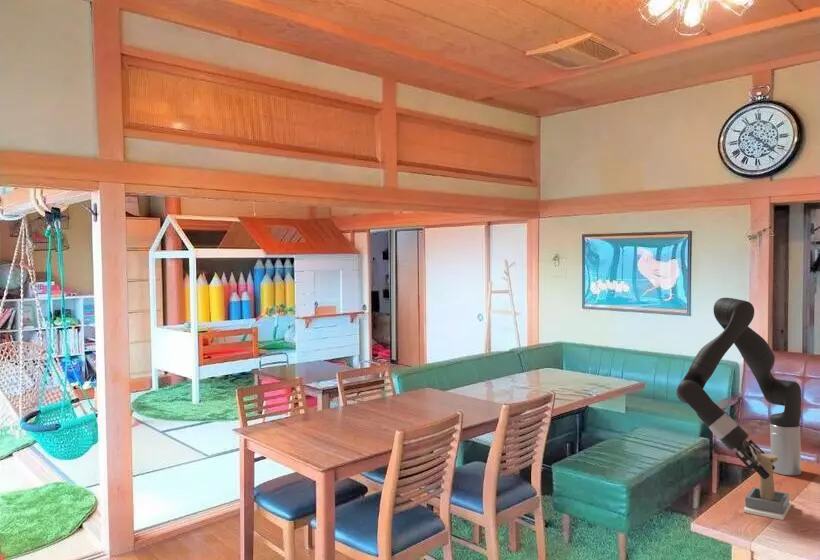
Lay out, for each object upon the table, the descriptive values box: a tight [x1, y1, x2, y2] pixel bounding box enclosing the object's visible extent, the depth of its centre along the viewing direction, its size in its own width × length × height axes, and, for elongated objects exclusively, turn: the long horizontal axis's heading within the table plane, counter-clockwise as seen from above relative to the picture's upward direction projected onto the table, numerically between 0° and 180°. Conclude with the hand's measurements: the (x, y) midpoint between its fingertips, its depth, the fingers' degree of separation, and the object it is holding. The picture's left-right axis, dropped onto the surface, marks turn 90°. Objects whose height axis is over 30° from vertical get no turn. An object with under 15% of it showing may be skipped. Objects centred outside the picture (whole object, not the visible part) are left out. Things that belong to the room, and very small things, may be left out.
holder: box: [743, 486, 792, 521], centre depth 187 cm, size 15×10×4 cm
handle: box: [756, 453, 778, 501], centre depth 187 cm, size 5×6×15 cm
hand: (770, 473), depth 186 cm, fingers open, 8 cm apart
